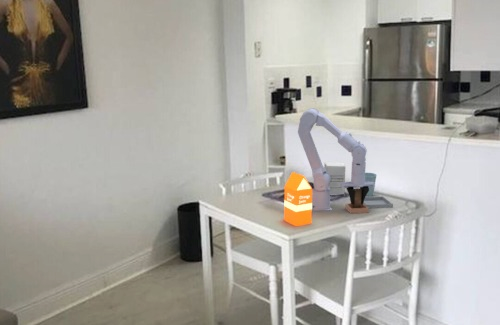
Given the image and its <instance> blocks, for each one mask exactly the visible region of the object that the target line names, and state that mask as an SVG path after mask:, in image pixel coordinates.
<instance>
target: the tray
mask: <svg viewBox="0 0 500 325" xmlns="http://www.w3.org/2000/svg"><path fill="white" fill-rule="evenodd" d="M363 204H364V205H366V206H367V207H368V208H369V209H390V208H393V207H394V204H393V203H392V202H391V201H390V200H389V199H388V198H386V197H384V196H372V197H365V199H364V203H363Z"/></svg>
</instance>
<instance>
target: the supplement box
mask: <svg viewBox="0 0 500 325" xmlns="http://www.w3.org/2000/svg"><path fill="white" fill-rule="evenodd" d="M323 167H324V168H325V170H326V172H327V173H328V174H329V175H330V177H331V181H330V183H329V184H328V185H329V187H330V194H344V195H345V192H346V191H345V189H346V188H341V183H345V182H346V165H345V164H344V162H343V161H324V165H323Z"/></svg>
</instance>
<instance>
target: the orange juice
mask: <svg viewBox="0 0 500 325" xmlns="http://www.w3.org/2000/svg"><path fill="white" fill-rule="evenodd" d="M312 189H313V188H312V186H311V185H310V183H309V182H308V180H307V178H306V177H305V175H302V174H301V173H298V172H297V173H296V172H295V171H292V172H291V174H290V175H289V178H288V179H287V181H286V183H285V184H284V200H283V201H284V203H283V206H284V208H283V209H284V211H283V213H284V215H283V220H284V221H285V222H287V223H288V224H291V225H292V226H294V227H299V226H305V225H309V224H312V212H313V211H312Z"/></svg>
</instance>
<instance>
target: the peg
mask: <svg viewBox="0 0 500 325" xmlns="http://www.w3.org/2000/svg"><path fill="white" fill-rule="evenodd" d="M354 190H355V194H354V204H353V208H361V198H362V189H360V188H354Z"/></svg>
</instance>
